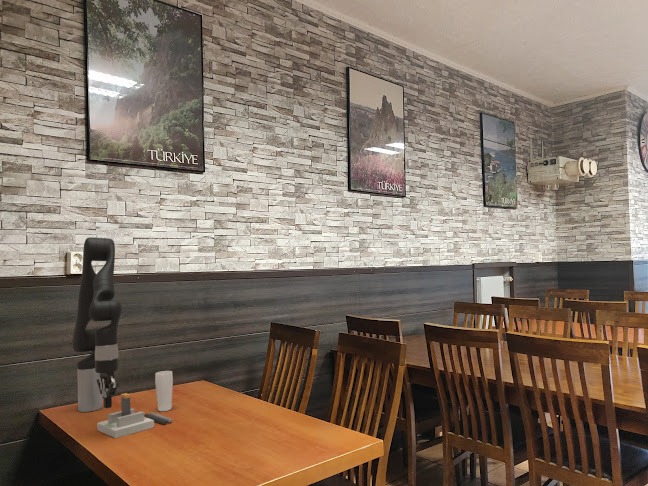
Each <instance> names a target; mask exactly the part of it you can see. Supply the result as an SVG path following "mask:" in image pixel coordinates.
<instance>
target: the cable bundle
mask: <svg viewBox="0 0 648 486" xmlns="http://www.w3.org/2000/svg"><path fill="white" fill-rule="evenodd" d="M144 417H147V418H149V419H152V420H154V423H155V422H156V423H158V424H161V425H167V423H169V424H171V423H172V422H173V419H172V418H171V417H167V416H165V415H162V414H159V413H156V412H153V411H151V412H149V413H144Z"/></svg>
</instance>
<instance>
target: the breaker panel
mask: <svg viewBox="0 0 648 486" xmlns="http://www.w3.org/2000/svg"><path fill="white" fill-rule="evenodd" d="M144 415H145V412H144V411H138V412H136V410H135V408H130V414H129V415H125V416H122V410H120V411H117V412H111V413H107V420H103V421H100V422H97V424H96V426H97V427H96V429H97V431H99V432H100V433H103V434H105V435H107V436H109V437H112V438H114V439H117V438H121V437H126V436H129V435H133V434H136V433H139V432H143V431H146V430H150V429H153V427H154V428H155V421H154V420H152V419H149V418H147V417H144ZM121 416H122V417H121Z"/></svg>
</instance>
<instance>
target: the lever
mask: <svg viewBox="0 0 648 486" xmlns="http://www.w3.org/2000/svg"><path fill="white" fill-rule="evenodd" d="M120 400H121V402H120V405H121V410H120V411H122V416H125V415H129V414H130V409H131V394H129V393H127V392H125V393H120ZM122 416H121V417H122Z"/></svg>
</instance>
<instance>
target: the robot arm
mask: <svg viewBox="0 0 648 486" xmlns="http://www.w3.org/2000/svg"><path fill="white" fill-rule="evenodd" d="M82 249H83V252H82V253H83V254H82V268H81V269H82V271H81V279H80V285H79V292H78V302H77V303H78V304H77V314H76V315H77V316H76V320H75V326H74V332H73V335H72V349H73V351H74V352H75V353H86V352H87V353H88V352H90V354H89V355H88V356H87V357H85V358H83V359H81V360H79V361H78V362H77V364H76V365H77V366H76V367H77V373H76V374H77V411H78V412H80V413H87V412H88V413H89V412H93V411H98V410H101V409H103V408H104V409H110V408H112V407H113V403H112V402H113V401H112V399H113V398H112V397H113V396H115V395H116V394H117V393H116V392H117V390H118V387H119V381H116V375H115V372H116V371H118V370H119V347H118V326H119V322H120V318H121V315H122V312H123V311H122V310H123V306H122V304H121V302H120V301H119V300H116V299H115V300H113V299H114V298H115V292H116V291H115V283H114V281H115V280H114V274H115V273H114V272H115V259H116V246H115V241H114V239H112V238H110V237H109V238H107V237H92V236H91V237H86V238H85V241H84V244H83V248H82ZM92 262H105V263H104V265H103V266H102V267H101V268H100V270H99V271H98V272H97V273H96V272H95V269H94V266H93V264H92ZM90 321H93V322H105V321H106V322H108V321H110V323H109V324H108V325H106V326H103V327H100V328H87V327H88V324H89V323H90ZM86 328H87V329H86Z"/></svg>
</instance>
